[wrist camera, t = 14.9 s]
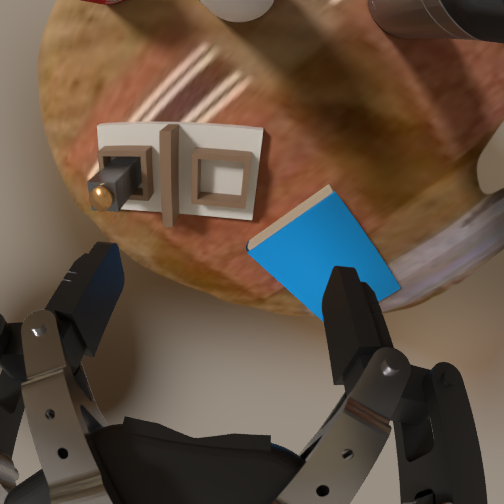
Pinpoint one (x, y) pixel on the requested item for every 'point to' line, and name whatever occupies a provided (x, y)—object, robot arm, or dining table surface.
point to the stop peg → (115, 183)
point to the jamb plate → (187, 166)
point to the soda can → (105, 1)
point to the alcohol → (238, 9)
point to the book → (319, 250)
